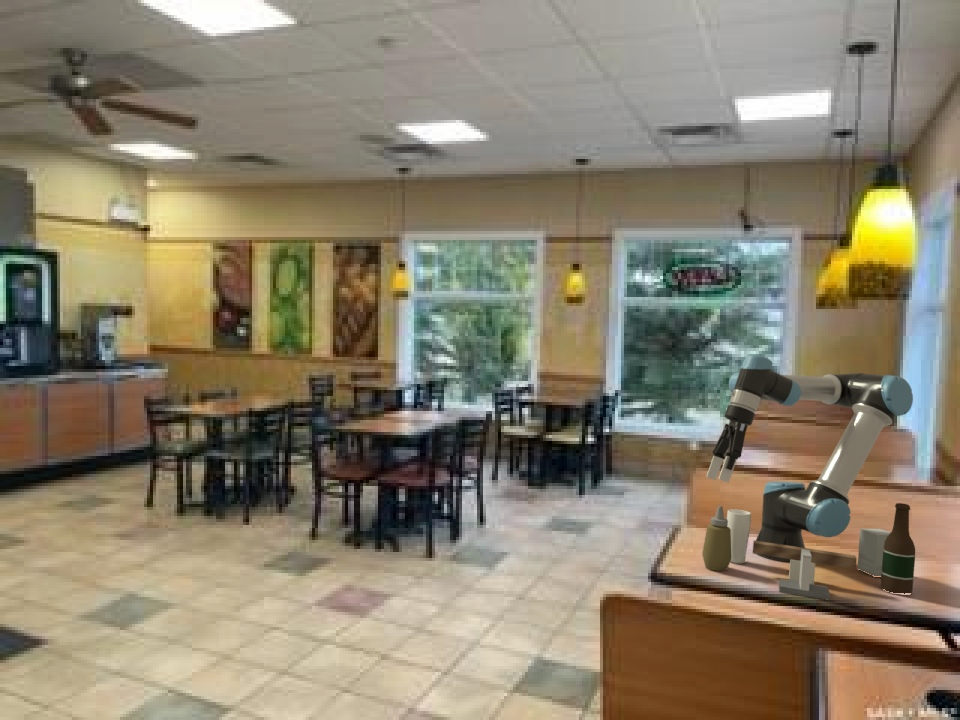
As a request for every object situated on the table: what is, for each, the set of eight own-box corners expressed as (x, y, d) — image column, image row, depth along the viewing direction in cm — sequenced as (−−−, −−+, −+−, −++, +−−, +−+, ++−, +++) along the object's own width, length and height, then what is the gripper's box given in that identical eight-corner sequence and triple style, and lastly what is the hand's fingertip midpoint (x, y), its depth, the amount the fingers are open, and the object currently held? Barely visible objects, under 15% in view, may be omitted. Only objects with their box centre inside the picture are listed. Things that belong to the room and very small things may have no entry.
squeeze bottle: (726, 565, 209) (731, 504, 208) (733, 574, 201) (738, 510, 200) (698, 563, 209) (702, 502, 209) (704, 571, 201) (709, 508, 201)
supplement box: (896, 578, 207) (899, 535, 207) (873, 578, 206) (876, 534, 205) (878, 570, 214) (881, 528, 214) (856, 569, 213) (859, 527, 213)
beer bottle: (874, 585, 199) (880, 500, 198) (902, 587, 198) (909, 501, 198) (889, 595, 191) (896, 506, 190) (918, 597, 191) (925, 508, 190)
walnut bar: (752, 553, 201) (753, 542, 201) (752, 550, 204) (753, 540, 204) (855, 569, 192) (856, 558, 192) (854, 566, 195) (855, 555, 195)
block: (789, 581, 197) (791, 560, 197) (788, 576, 202) (790, 555, 202) (813, 585, 195) (815, 564, 195) (812, 580, 200) (813, 559, 199)
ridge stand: (779, 591, 188) (782, 552, 188) (778, 584, 194) (781, 545, 194) (829, 600, 184) (832, 559, 183) (827, 592, 190) (830, 552, 190)
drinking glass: (723, 562, 211) (727, 512, 211) (723, 556, 218) (727, 508, 217) (747, 566, 209) (751, 515, 209) (747, 560, 215) (751, 511, 215)
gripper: (717, 406, 213) (693, 473, 211) (741, 400, 188) (715, 476, 186) (742, 415, 212) (718, 482, 210) (769, 411, 187) (743, 487, 185)
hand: (716, 479), depth 198 cm, fingers open, 13 cm apart
